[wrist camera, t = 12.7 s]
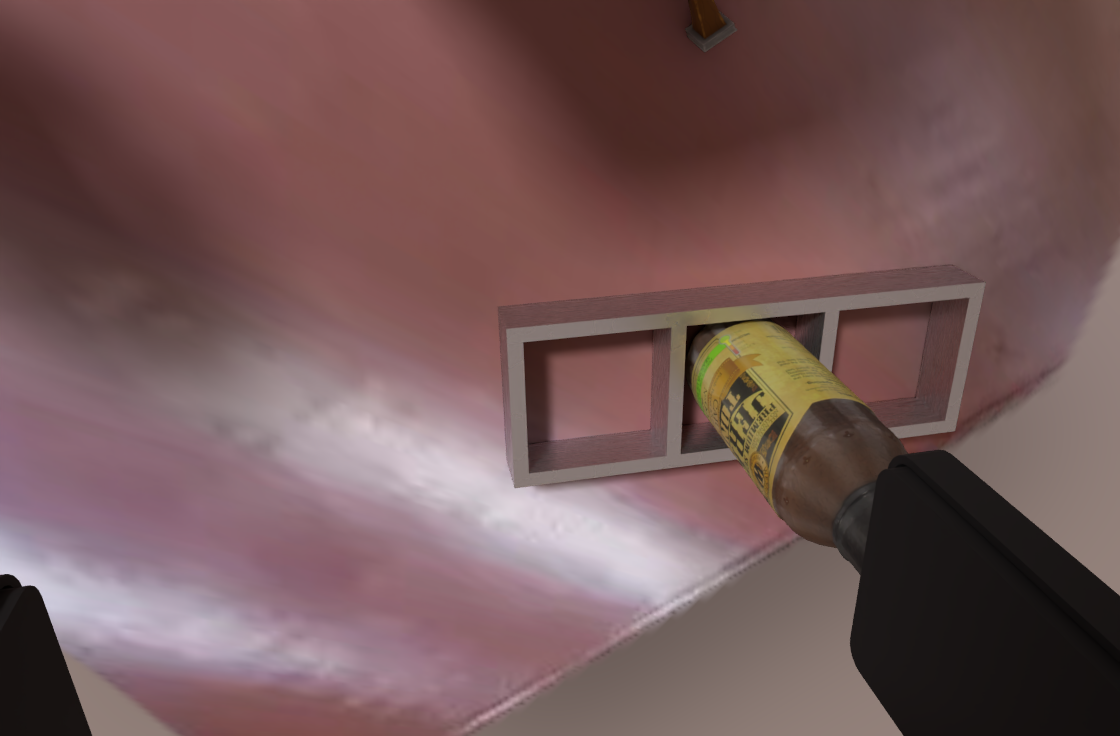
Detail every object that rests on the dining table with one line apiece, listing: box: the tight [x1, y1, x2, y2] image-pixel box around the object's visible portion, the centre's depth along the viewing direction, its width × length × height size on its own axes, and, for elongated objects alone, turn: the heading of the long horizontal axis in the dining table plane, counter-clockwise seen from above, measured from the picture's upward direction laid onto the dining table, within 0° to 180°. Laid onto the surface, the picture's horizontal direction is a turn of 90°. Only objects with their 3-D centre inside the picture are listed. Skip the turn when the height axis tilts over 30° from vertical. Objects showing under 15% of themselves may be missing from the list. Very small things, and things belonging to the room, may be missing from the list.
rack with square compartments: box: [498, 265, 986, 488], centre depth 47 cm, size 9×26×3 cm, turn 91°
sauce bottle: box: [684, 318, 908, 575], centre depth 39 cm, size 6×6×20 cm
